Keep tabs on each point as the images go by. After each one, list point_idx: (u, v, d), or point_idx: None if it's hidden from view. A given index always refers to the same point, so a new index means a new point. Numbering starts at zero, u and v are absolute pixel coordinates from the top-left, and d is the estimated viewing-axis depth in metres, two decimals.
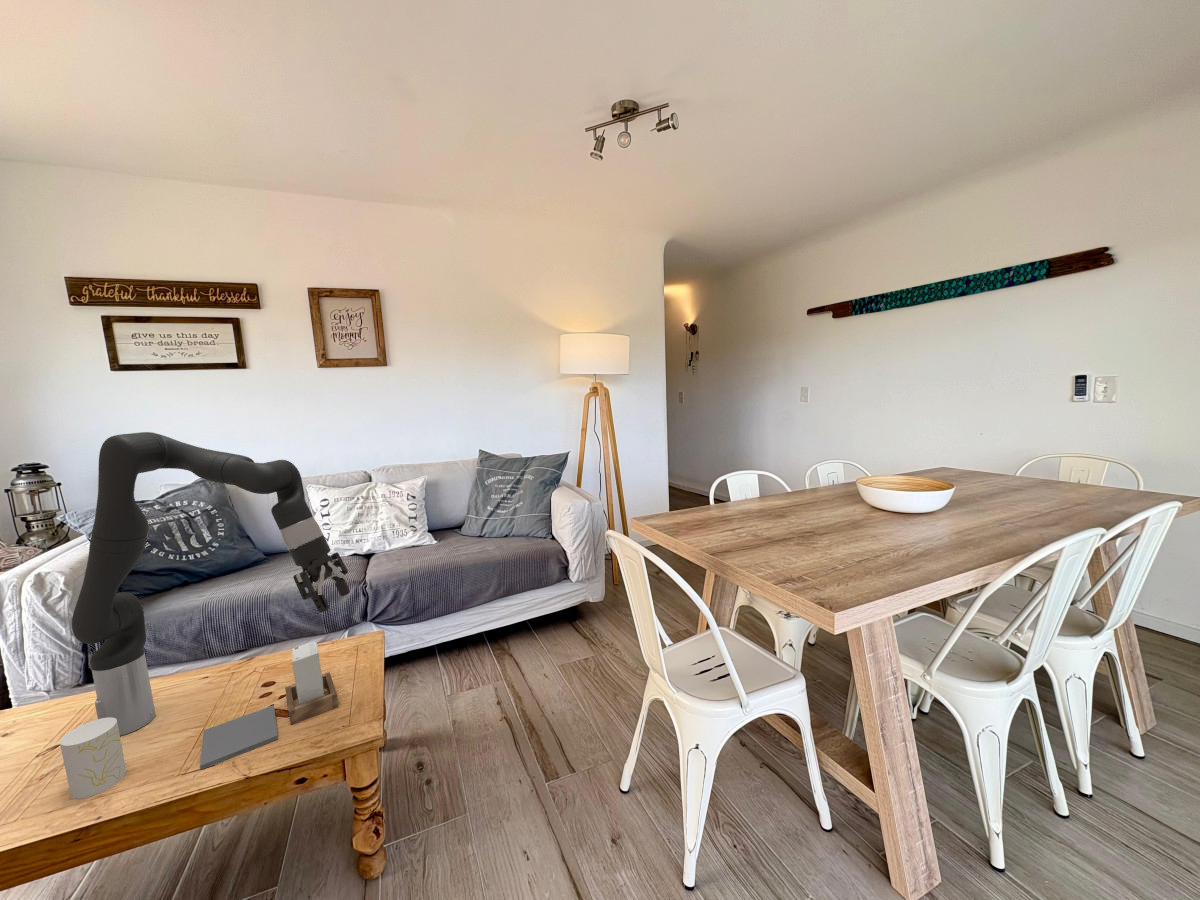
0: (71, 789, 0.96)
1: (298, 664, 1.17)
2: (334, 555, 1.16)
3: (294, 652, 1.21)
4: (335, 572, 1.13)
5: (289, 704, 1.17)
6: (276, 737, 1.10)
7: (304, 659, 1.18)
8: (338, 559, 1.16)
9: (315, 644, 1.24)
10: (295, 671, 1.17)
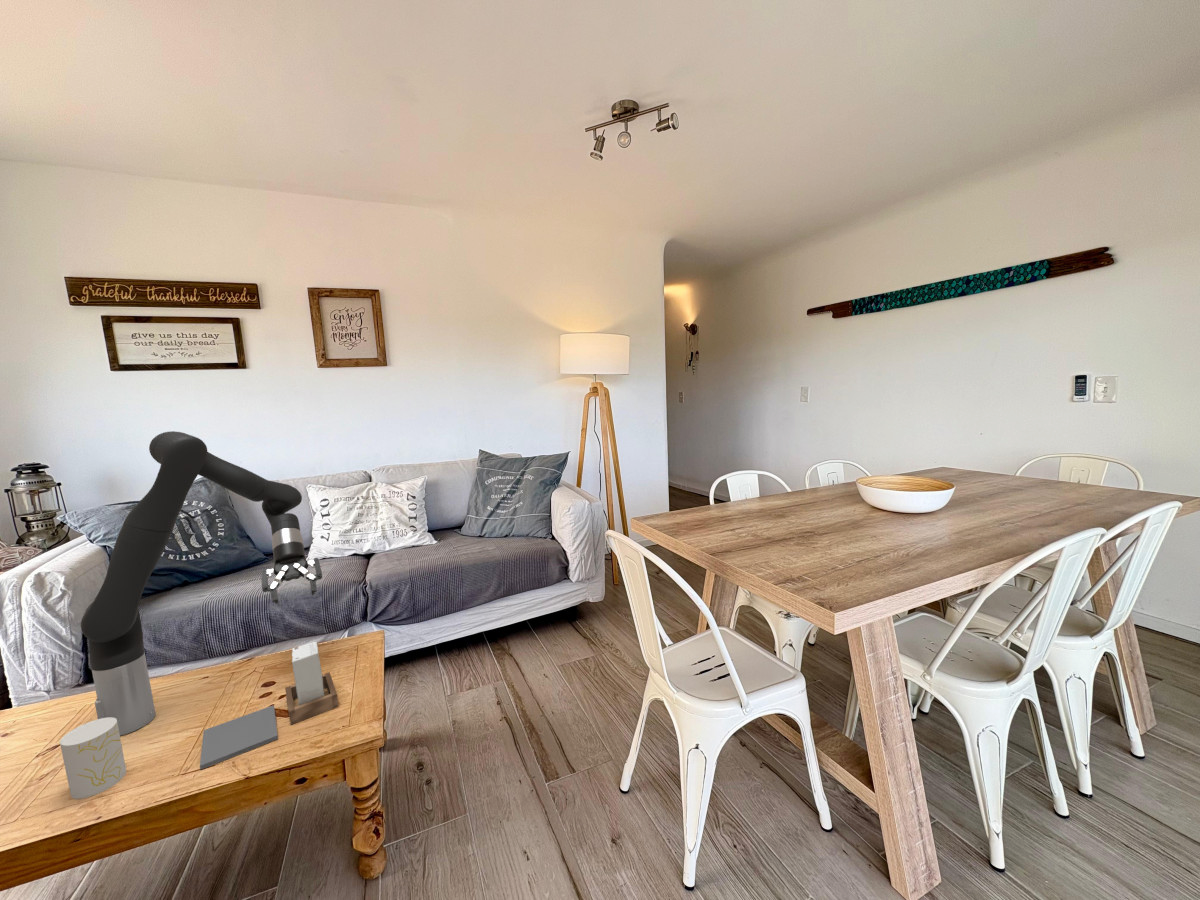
0: (71, 789, 0.96)
1: (298, 664, 1.17)
2: None
3: (294, 652, 1.21)
4: (282, 582, 1.32)
5: (289, 704, 1.17)
6: (276, 737, 1.10)
7: (304, 659, 1.18)
8: None
9: (315, 644, 1.24)
10: (295, 671, 1.17)
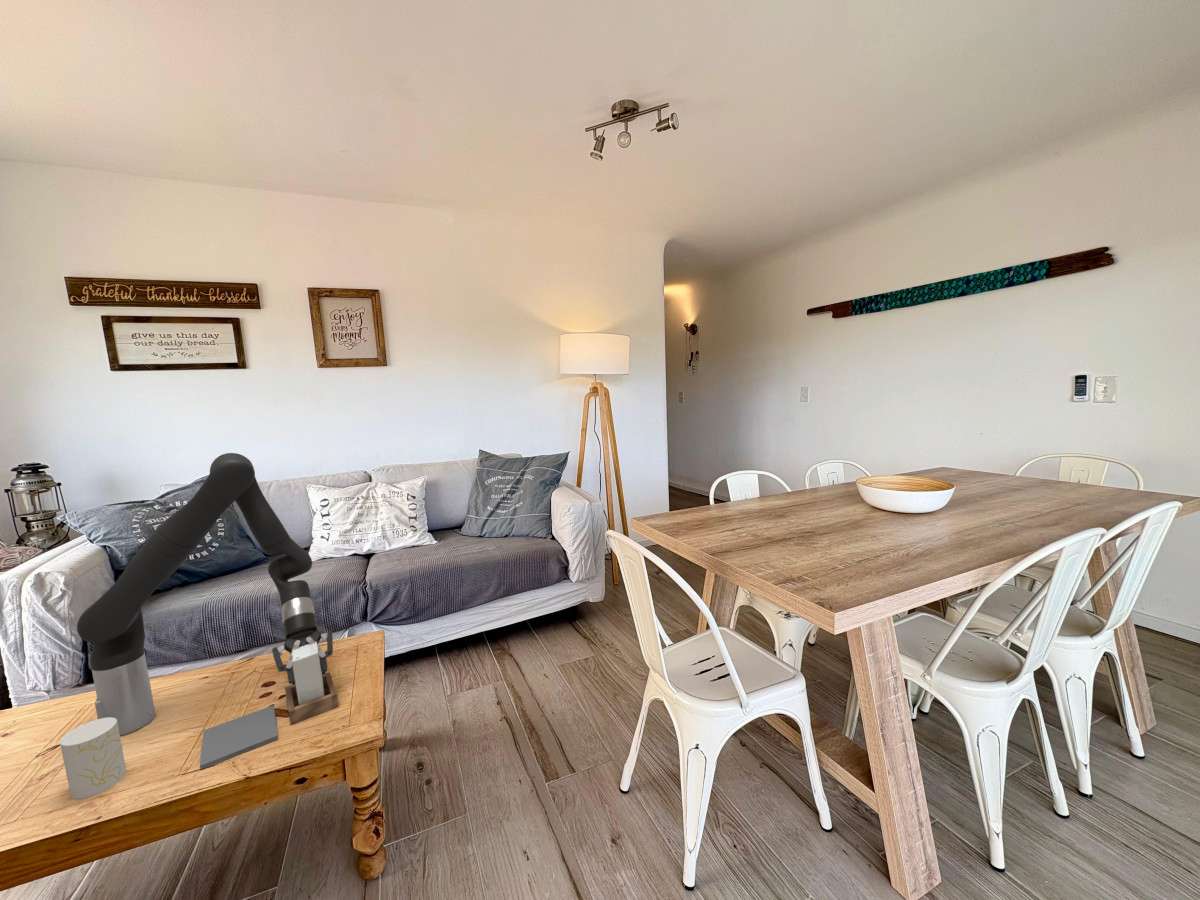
0: (71, 789, 0.96)
1: (298, 664, 1.17)
2: None
3: (294, 652, 1.21)
4: None
5: (289, 704, 1.17)
6: (276, 737, 1.10)
7: (304, 659, 1.18)
8: None
9: (315, 644, 1.24)
10: (295, 671, 1.17)
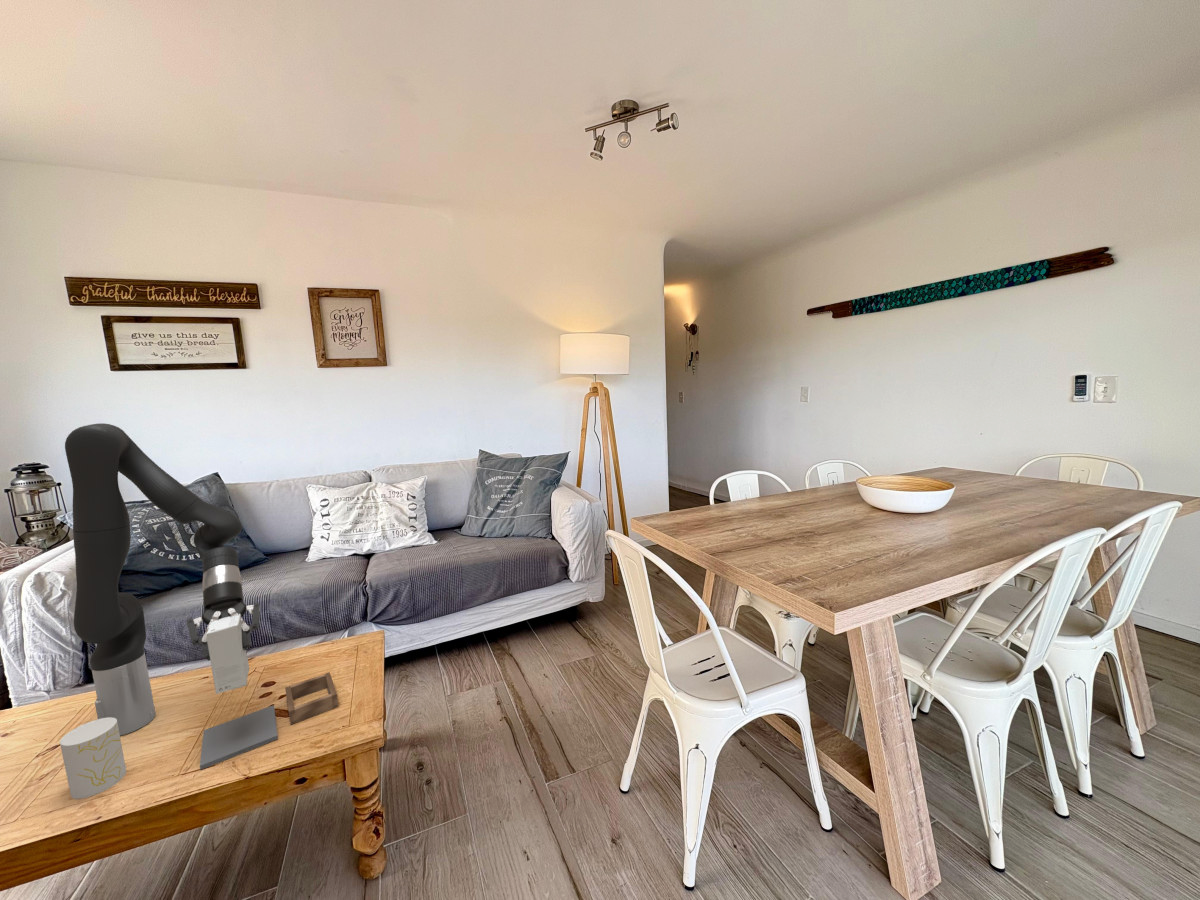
0: (71, 789, 0.96)
1: (213, 636, 1.04)
2: None
3: (211, 624, 1.08)
4: None
5: (289, 704, 1.17)
6: (276, 737, 1.10)
7: (220, 632, 1.05)
8: None
9: (237, 616, 1.12)
10: (210, 644, 1.04)
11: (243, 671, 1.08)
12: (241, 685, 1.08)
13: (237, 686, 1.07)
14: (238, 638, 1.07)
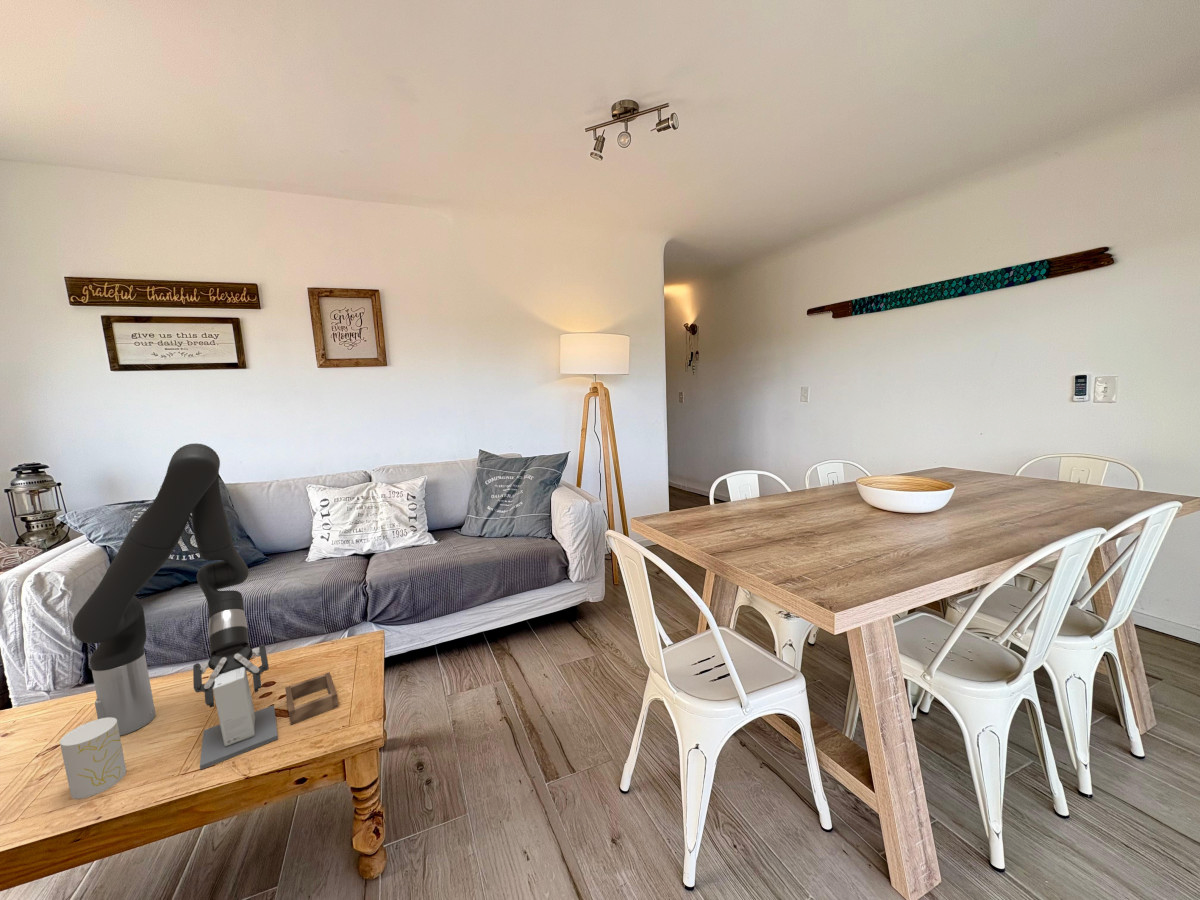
0: (71, 789, 0.96)
1: (220, 690, 1.06)
2: None
3: (217, 677, 1.09)
4: None
5: (289, 704, 1.17)
6: (276, 737, 1.10)
7: (227, 685, 1.07)
8: None
9: None
10: (217, 698, 1.06)
11: (251, 722, 1.10)
12: (249, 736, 1.10)
13: (245, 737, 1.09)
14: (245, 690, 1.09)
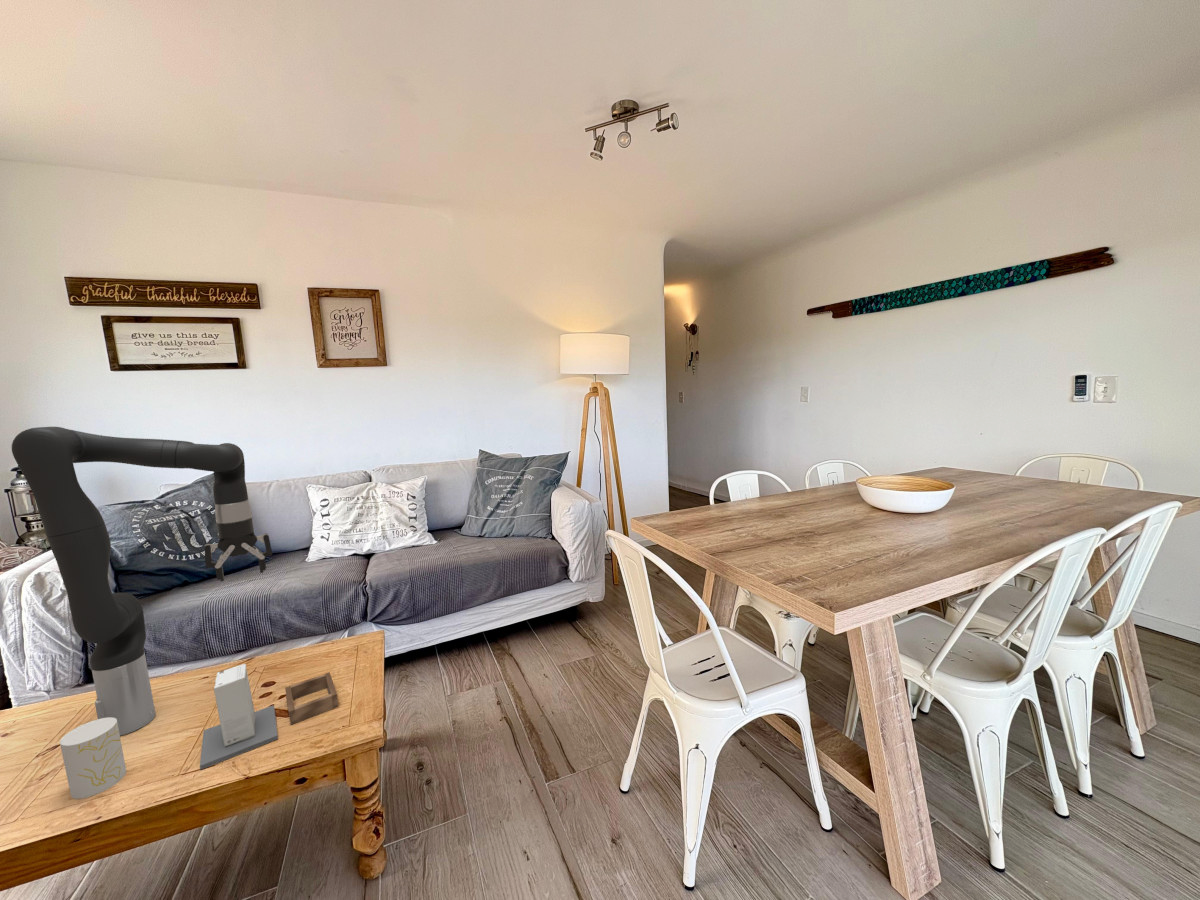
0: (71, 789, 0.96)
1: (221, 690, 1.06)
2: None
3: (218, 677, 1.09)
4: None
5: (289, 704, 1.17)
6: (276, 737, 1.10)
7: (228, 685, 1.07)
8: None
9: (243, 666, 1.13)
10: (217, 698, 1.06)
11: (251, 722, 1.10)
12: (249, 736, 1.10)
13: (245, 737, 1.09)
14: (245, 690, 1.09)
